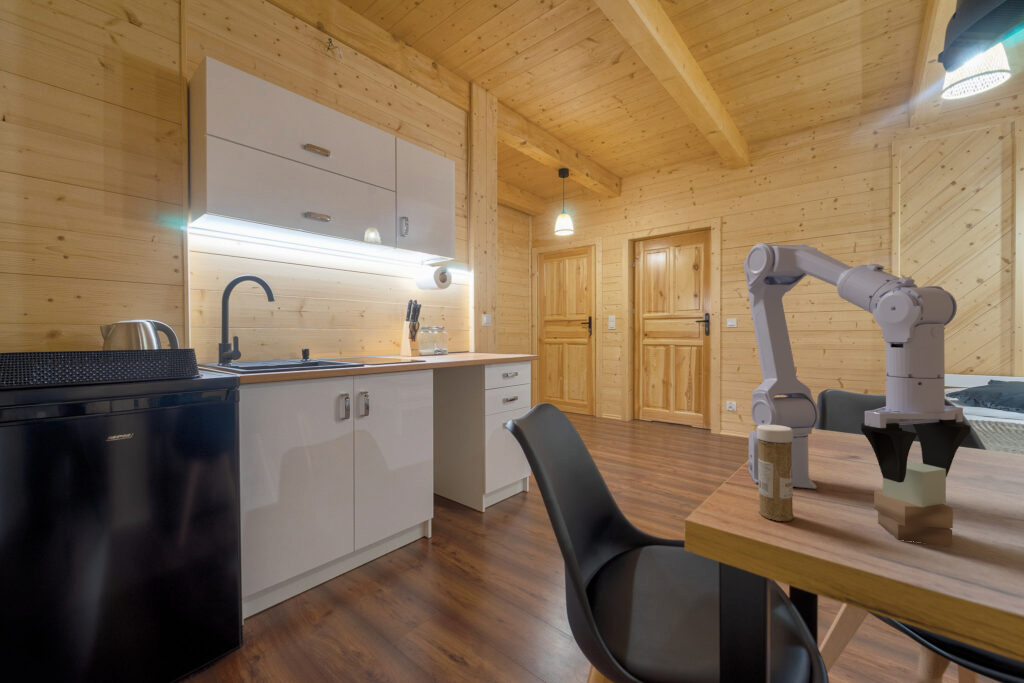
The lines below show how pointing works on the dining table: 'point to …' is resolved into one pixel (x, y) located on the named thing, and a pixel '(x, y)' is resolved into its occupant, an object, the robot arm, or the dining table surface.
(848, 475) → the dining table surface
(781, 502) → the sprinkles bottle
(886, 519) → the tower bottom
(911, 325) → the robot arm
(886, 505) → the tower top
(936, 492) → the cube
